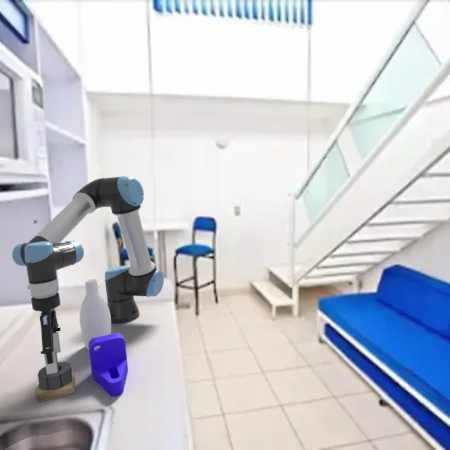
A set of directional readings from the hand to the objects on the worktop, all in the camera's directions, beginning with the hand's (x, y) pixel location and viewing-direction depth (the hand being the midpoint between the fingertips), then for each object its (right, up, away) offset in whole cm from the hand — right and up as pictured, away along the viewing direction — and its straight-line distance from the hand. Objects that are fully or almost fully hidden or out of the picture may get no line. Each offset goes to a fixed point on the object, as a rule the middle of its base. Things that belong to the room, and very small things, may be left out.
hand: (54, 362), depth 113 cm
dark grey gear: (0, -6, +1) cm, 6 cm away
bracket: (+17, -7, +3) cm, 19 cm away
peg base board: (0, -8, +1) cm, 8 cm away
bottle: (+3, -5, +29) cm, 30 cm away
